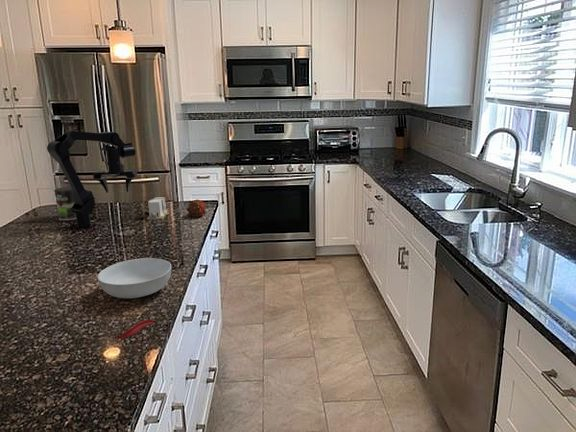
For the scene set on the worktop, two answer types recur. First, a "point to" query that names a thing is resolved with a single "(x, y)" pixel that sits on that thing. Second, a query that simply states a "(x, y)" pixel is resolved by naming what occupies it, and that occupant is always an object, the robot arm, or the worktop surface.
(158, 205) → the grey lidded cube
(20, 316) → the worktop surface
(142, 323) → the cayenne pepper
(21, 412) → the worktop surface
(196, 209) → the dragon fruit
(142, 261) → the serving bowl
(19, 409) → the worktop surface
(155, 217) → the rail
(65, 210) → the grey green cylinder
